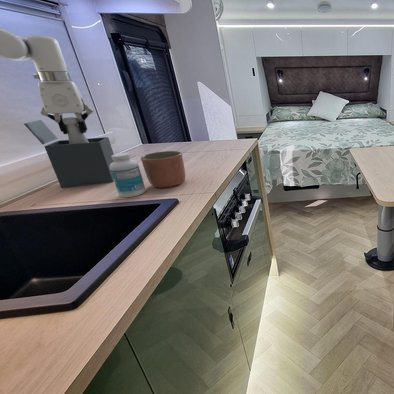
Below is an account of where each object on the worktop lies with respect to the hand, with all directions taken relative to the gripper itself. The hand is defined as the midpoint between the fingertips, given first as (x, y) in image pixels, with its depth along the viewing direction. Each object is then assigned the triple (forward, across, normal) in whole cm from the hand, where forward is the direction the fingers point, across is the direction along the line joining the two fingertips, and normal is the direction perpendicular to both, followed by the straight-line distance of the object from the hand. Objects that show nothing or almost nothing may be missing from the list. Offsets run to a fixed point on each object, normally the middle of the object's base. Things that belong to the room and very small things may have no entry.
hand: (75, 132), depth 103 cm
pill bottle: (+18, +17, -24) cm, 35 cm away
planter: (+18, +27, -18) cm, 37 cm away
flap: (-1, -9, 0) cm, 9 cm away
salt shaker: (+8, 0, 0) cm, 8 cm away
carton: (+18, 0, 0) cm, 18 cm away
